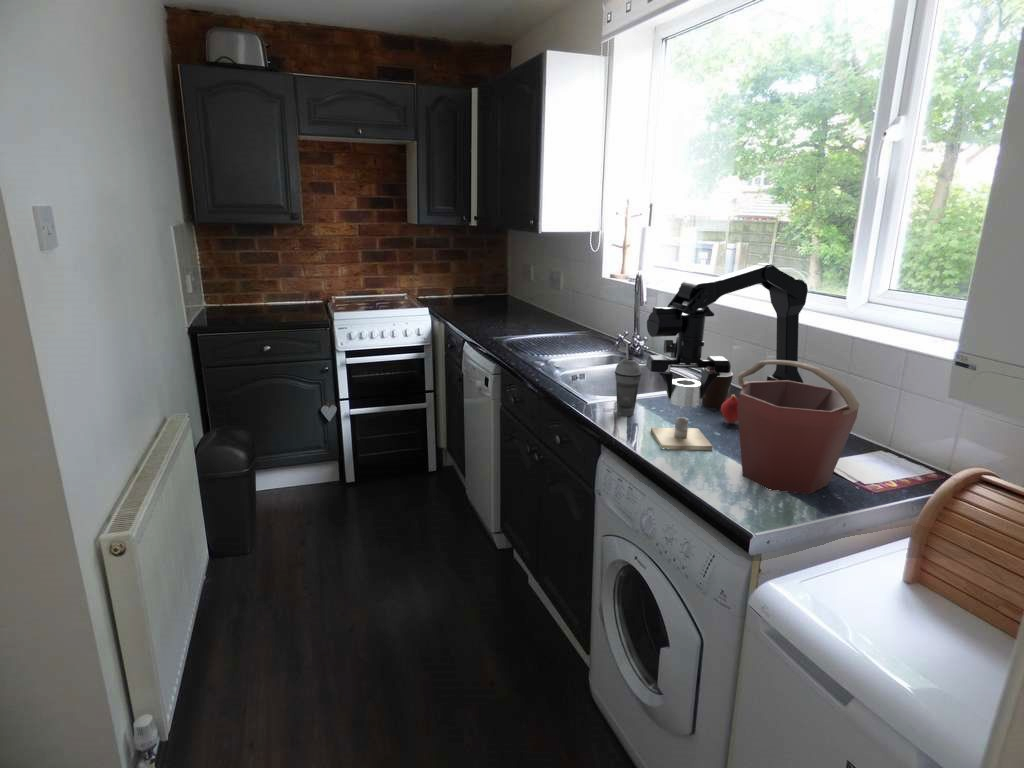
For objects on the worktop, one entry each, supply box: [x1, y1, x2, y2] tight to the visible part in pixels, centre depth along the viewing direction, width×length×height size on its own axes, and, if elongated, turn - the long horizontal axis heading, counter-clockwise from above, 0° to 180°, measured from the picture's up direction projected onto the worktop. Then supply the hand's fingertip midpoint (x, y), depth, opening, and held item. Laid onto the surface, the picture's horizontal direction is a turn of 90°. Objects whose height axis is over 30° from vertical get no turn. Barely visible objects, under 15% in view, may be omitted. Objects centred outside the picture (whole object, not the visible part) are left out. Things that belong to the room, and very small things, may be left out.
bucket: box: [737, 359, 860, 495], centre depth 131 cm, size 24×22×25 cm
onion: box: [720, 394, 738, 425], centre depth 165 cm, size 6×6×8 cm
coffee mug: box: [701, 371, 734, 410], centre depth 180 cm, size 12×9×10 cm
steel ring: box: [668, 378, 702, 408], centre depth 150 cm, size 7×7×5 cm
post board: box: [650, 416, 713, 451], centre depth 153 cm, size 12×12×6 cm
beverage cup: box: [614, 341, 642, 417], centre depth 170 cm, size 7×7×20 cm
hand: (684, 398), depth 150 cm, fingers closed on steel ring, 7 cm apart
